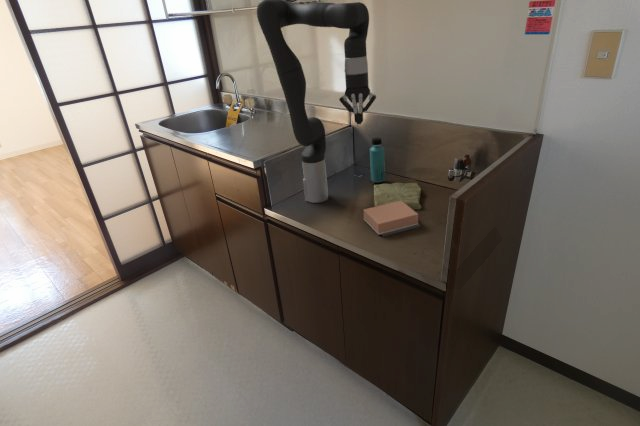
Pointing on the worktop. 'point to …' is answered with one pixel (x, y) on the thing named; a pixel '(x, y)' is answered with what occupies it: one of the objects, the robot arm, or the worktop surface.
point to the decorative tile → (398, 194)
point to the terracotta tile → (390, 217)
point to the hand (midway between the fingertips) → (359, 123)
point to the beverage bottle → (377, 161)
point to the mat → (400, 230)
